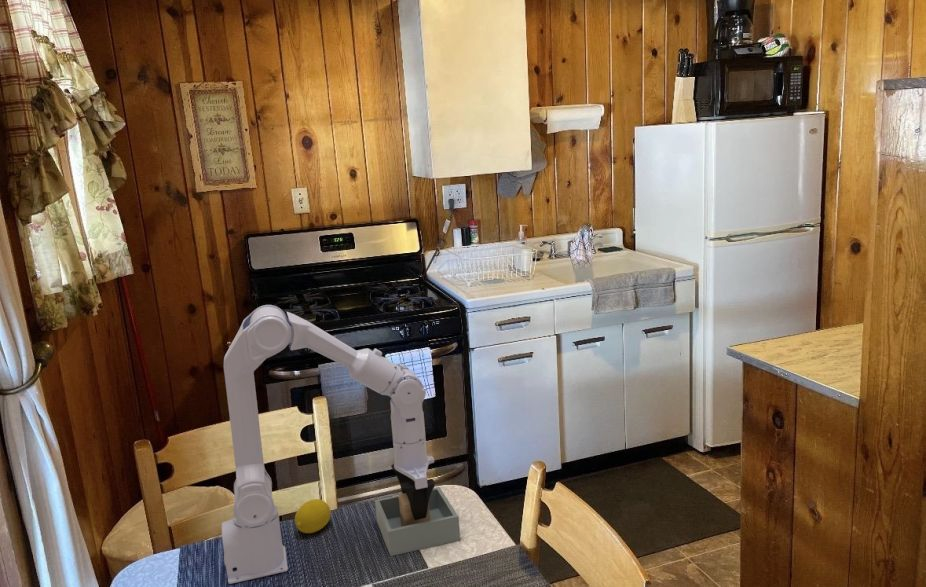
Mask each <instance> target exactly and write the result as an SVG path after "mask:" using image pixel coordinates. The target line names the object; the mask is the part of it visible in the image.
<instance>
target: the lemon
mask: <svg viewBox="0 0 926 587" xmlns="http://www.w3.org/2000/svg"><path fill="white" fill-rule="evenodd" d="M331 515H332V514H331V508H330V506H329V504H328V503H327V502H326V501H324V500H322V499H318V498H317V499H316V498H315V499H311V500H307V501H306V502H305V503H303V504H302V505H301V506H300V507H299V508H298V510H297V511H296V513H295V515H294V524H295V526H296V528H297V529H298V530H299V531H300V532H301V533H303V534H314V533H317V532H318V531H320V530H321V529H324V527H326V525H328V523H329V521H330V519H331Z"/></svg>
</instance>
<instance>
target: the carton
mask: <svg viewBox="0 0 926 587" xmlns="http://www.w3.org/2000/svg"><path fill="white" fill-rule="evenodd" d="M397 495H398V496H399V507H400V518H401V526H402V527H403V526H408V525H412V524H417V523H421V522H426V521H430V511H429V503H428V510H427V516H426V518H423V519H419V520H415V519H414V517H413V515H412V511H411V507H410V503H409V500H408V497H407V495H406V493H403V494H402V493H399V494H397Z"/></svg>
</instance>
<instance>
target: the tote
mask: <svg viewBox="0 0 926 587" xmlns="http://www.w3.org/2000/svg"><path fill="white" fill-rule="evenodd" d="M374 503H375V515H376V522H377V525H378V528H379V531H380V533H381V536H382V539H383V541H384V544H385V546H386V548H387V551H388V553H389V556H390V557H394V556H397V555H401V554H406V553H410V552H415V551H419V550H424V549H428V548H433V547H437V546H441V545H442V546H443V545H446V544H450V543H454V542H459V541H461V532H460V518H459V514H457V511H456V510H455V509H454V507H453V506H452V503H451V502H450V501H449V499H448V498H447V496H446V494H445V493H444V492H443V490H442V488H441V487H440V486H437V487H434V488H433V490H432V492H431V495H430V498H429V511H430V521H426V522H421V523H417V524H412V525H408V526H403V527H402V526H401V518H400V507H399V496H398V494H397V495H393V496H387V497H384V498H379V499H378V498H377V499H375V500H374Z"/></svg>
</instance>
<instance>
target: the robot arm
mask: <svg viewBox="0 0 926 587" xmlns="http://www.w3.org/2000/svg"><path fill="white" fill-rule="evenodd" d="M286 314H287V315H286ZM287 346H289V349H290V351H296V350H301V349H309V350H311V351H313V352H315V353H318V354H320V355H322V356H323V357H326V358H327V359H330V360H332V361H334V362H336V363H337V364H340V365H342V366H343V367H346V368H347V370H348V374H349V376H350V377H349V378H351V379H352V380H354V381H356V382H358V383H359V384H361V385H363V386H364V387H366V388H369V389H370V390H372V391H374V392H376V393H378V394H380V395H382V396H387V397H389V398H391V399H390V400H389V402H390V411H391V412H390V420H391V433H392V445H393V454H394V461H393V462H394V463H392V464H391V469H392V471H393V472H394V474H395V475H396V477H397V480H398V482H399V485H400V489H401V494H403V493H406V495H407V497H408V500H409V503H410V507H411V511H412V515H413V517H414V519H415V520H419V519H423V518H426V516H427V510H428V503H429V498H430V495H431V492H432V490H433V488H435V484H436V482H435V480H434V479H433V478H429V479H428V476H427V473H428V469H429V465H432V464H434V463H435V458H434V456H432V455H428V453H427V450H428V449H427V440H426V428H425V417H424V415H425V414H424V411H423V402H424V400H425V398H426V393H427V391H426V389H425V387H424V385H423V383H422V381H421V379H420V378H418V377H417V375H416V374H415V373H414V372H413V371H411V370H410V369H409V367H406V366H405V365H404V364H402V363H400V362H399V363H398V364H396V363H394V362H393V361H391V360H389V359H388V358H385V357H384V356H382V355H383V352H382V351H381V350H380V349H377V348H374V349H373V350H372V349H370V348H368V347H367V348H362V349H358V350H356V349H355V348H353V347H351V346H350V345H348V344H346V343H344V342H343V341H341V340H340V339H338V338H336V337H335V336H333V335H331V334H329V333H328V332H327V331H324V330H323V329H321V328H320V327H318V326H316V325H315V324H314V323H312V322H310V321H309V320H306V319H304V318H302V317H301V316H298V315H297V314H295V313H292V312H289V311H286V313H285V312H284V310H283V309H281V308H280V307H279V306H276V305H272V304H265V305H261V306H259V307H257V308H255V309H254V310H253V311H252V312H251V313H249V315H247V316H246V317H245V318H244V319H243V321H242V323H241V325H240V327H239V329H238V331H237V333H236V335H235V337H234V339H233V340H232V342H231V344H230V345H229V347H228V350H227V351H226V353H225V355H224V356H223V357H224V358H223V373H224V382H225V389H226V390H225V391H226V397H227V405H228V413H229V414H228V415H229V423H230V433H231V439H232V440H231V441H232V448H233V449H232V450H233V458H234V465H235V478H236V479H235V481H234V482H233V493H234V494H233V495H234V497H233V498H234V499H233V500H234V503H233V510H232V511H233V518H231V519H229V520H226V521H223V522H221V538H222V546H223V554H224V555H223V563H224V566H225V568H226V576H227V584H229V585H231V584H236V583H241V582H245V581H249V580H254V579H255V580H256V579H258V578H263V577H268V576H271V575H276V574H279V573H280V574H281V573H285V572H287V571H288V570H289V568H288V559H287V552H286V546H285V545H283V540H282V539H283V538H282V533H281V532H282V531H281V524H280V515H279V508H278V506H276V505H275V501H274V498H273V491H272V490H273V489H272V488H273V482H272V477H270V475H269V473H268V472H267V470H266V468H265V461H264V453H263V447H262V446H263V444H262V436H261V426H260V418H259V409H258V400H257V392H256V382H255V375H254V374H255V371H256V370H257V369H258V368H259V367H260V366H261V365H262V364H263V363H264V361H266V359H269V358H271V357H273V356H275V355H277V354H278V353H281V351H283V350H284V349H286V347H287Z"/></svg>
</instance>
